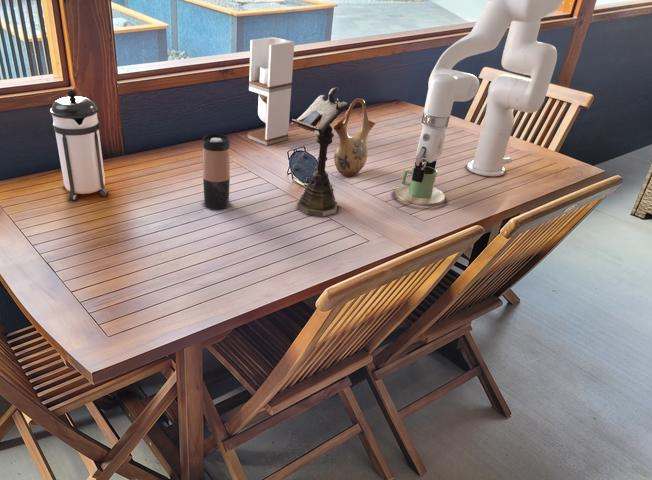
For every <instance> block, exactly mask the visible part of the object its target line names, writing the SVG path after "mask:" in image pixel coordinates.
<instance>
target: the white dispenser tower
mask: <svg viewBox="0 0 652 480" xmlns="http://www.w3.org/2000/svg"><path fill="white" fill-rule="evenodd" d="M249 43H250V45H249V74H248V75H249V77H248V81H249V82H248V91H249V92H252V93H255V94H258V99H257V100H258V101H257V102H258V105H257V115H258V117H259V120H261V121H262V122H263V123H264V124H265V127H264V128H260V129H257V130H253V131H249V132H247V139H250V140H252V141H254V142H257V143H259V144H263V145H265V146H269V145H273V144H277V143H280V142H284V141H287V140H289V128H290V112H291V98H292V83H293V71H294V58H295V57H294V56H295V55H294V54H295V44H296V43H295V41H293V40H288V39H284V38H279V37H275V36H270V37H262V38H255V39H250V41H249Z"/></svg>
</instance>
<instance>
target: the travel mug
mask: <svg viewBox="0 0 652 480" xmlns="http://www.w3.org/2000/svg"><path fill="white" fill-rule="evenodd" d="M230 141H231V139H230V136H228V135H225V134H222V133H221V134H220V133H209V134H206V135H204V136H203V137H202V181H203V182H202V183H203V184H202V185H203V203H204V206H205V207H206V208H208V209H210V210H213V211H215V210H216V211H217V210H218V211H219V210H224V209H226V208H227V207H229V203H230V202H229V201H230V180H231V179H230V178H231V167H230V166H231V162H230V160H231V158H230V157H231V154H230V152H231V151H230V150H231V147H230V146H231V142H230Z"/></svg>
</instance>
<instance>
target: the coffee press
mask: <svg viewBox="0 0 652 480" xmlns="http://www.w3.org/2000/svg"><path fill="white" fill-rule="evenodd" d="M49 112H50V115H51V116H52V121H53V123H52V126H53V131H54V132H55V133H54V134H55V138H56V139H55V140H56V145H57V150H58V156H59V163H60V168H61V174H62V180H63V188H64V189H65V190H67V191H68V192H69V195H68V199H69V201H76V200H77V197H78V195H88V194H93V193H97V192H98V193H99V194H100V195H101V196H102V197H106V196H107V195H109V190H107V188H106V187H105V185H106V177H105V168H104V161H103V160H104V159H103V153H102V145H101V144H102V143H101V137H100V122H99V119H98V112H99V109H98V106H96V103H95V102H94V100H91V99H89V98H87V97H83V96H77V92H76V91H75V90H74V89H69V90H68V91H67V96H66V97H65V96H64V97H61V98H59V99H57V100H55V101H53V103H52V105H51V108H50V110H49Z"/></svg>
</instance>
